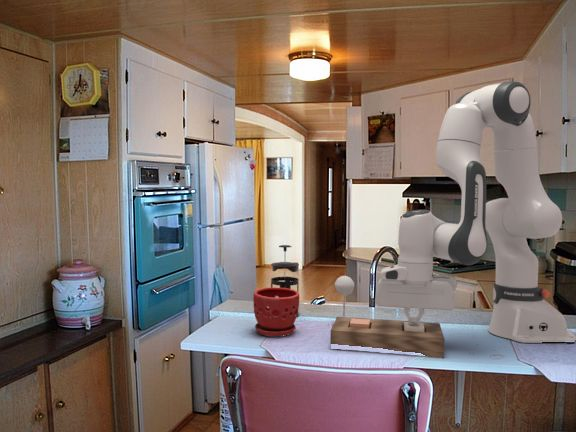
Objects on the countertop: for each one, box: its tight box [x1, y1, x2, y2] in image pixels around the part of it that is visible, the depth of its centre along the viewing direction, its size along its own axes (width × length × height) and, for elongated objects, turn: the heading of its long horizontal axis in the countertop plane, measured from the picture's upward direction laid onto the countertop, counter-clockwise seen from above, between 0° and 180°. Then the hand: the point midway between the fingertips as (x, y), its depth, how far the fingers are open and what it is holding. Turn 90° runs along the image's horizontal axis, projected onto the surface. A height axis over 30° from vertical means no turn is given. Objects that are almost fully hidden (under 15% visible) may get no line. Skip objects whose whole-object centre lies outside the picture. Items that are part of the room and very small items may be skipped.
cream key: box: [404, 322, 424, 332], centre depth 130 cm, size 5×5×4 cm
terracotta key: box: [350, 317, 370, 329], centre depth 133 cm, size 5×5×4 cm
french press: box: [270, 244, 300, 319], centre depth 161 cm, size 12×9×23 cm
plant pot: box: [252, 286, 300, 337], centre depth 142 cm, size 13×13×12 cm
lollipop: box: [334, 275, 355, 317], centre depth 151 cm, size 6×6×15 cm
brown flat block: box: [329, 316, 445, 359], centre depth 132 cm, size 28×14×5 cm, turn 78°
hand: (413, 324), depth 130 cm, fingers closed, pressing on cream key
